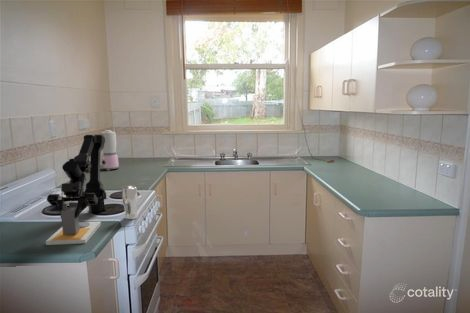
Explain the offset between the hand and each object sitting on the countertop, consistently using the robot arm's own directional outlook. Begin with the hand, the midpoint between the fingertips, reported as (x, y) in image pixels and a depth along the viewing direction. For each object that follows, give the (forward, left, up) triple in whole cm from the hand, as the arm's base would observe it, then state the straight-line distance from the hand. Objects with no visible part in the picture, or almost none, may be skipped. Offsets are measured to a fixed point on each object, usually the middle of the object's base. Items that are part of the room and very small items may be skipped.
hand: (68, 218), depth 134 cm
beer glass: (-30, -4, -9) cm, 32 cm away
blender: (-79, -119, -9) cm, 143 cm away
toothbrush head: (-19, -54, -9) cm, 59 cm away
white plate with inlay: (-4, -4, -9) cm, 10 cm away
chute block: (-1, -1, -7) cm, 7 cm away
